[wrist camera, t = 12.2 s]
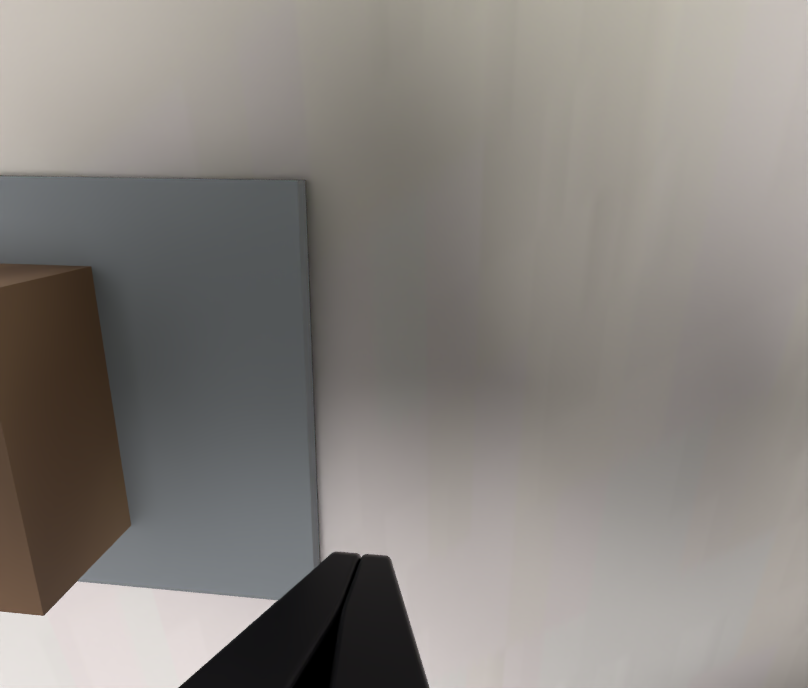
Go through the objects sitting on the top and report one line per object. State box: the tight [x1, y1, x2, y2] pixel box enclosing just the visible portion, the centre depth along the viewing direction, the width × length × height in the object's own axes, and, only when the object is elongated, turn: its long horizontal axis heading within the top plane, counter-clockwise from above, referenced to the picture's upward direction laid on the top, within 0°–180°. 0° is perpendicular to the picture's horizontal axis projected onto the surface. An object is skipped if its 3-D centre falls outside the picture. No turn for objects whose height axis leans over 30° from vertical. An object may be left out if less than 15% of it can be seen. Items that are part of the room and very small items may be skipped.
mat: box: [0, 176, 320, 600], centre depth 14 cm, size 14×11×1 cm
